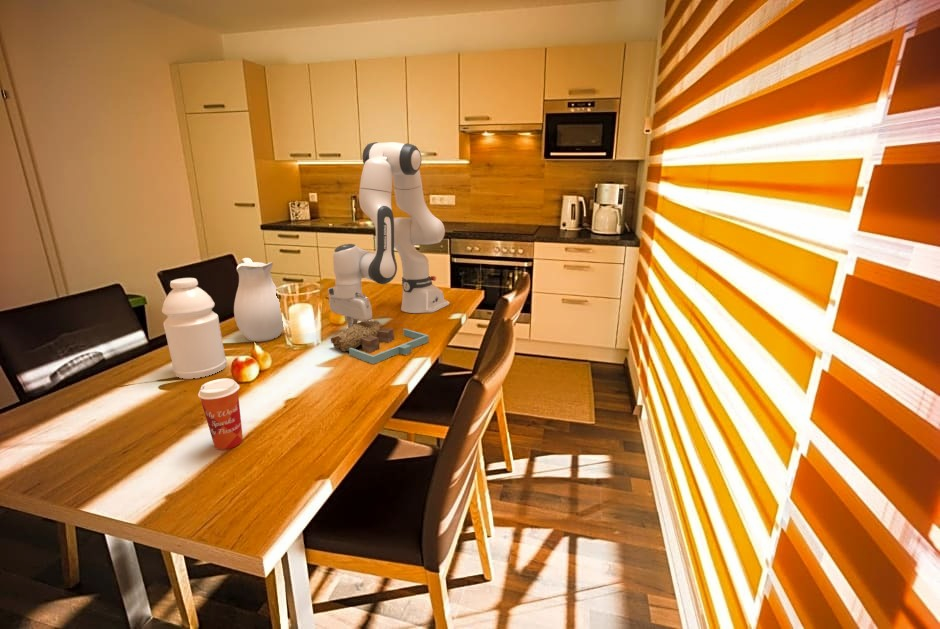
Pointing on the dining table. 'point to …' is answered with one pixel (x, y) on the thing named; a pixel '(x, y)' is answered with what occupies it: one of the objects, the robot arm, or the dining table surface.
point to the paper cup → (222, 412)
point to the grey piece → (400, 349)
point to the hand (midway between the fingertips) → (352, 328)
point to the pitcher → (257, 302)
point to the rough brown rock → (355, 335)
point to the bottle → (192, 331)
